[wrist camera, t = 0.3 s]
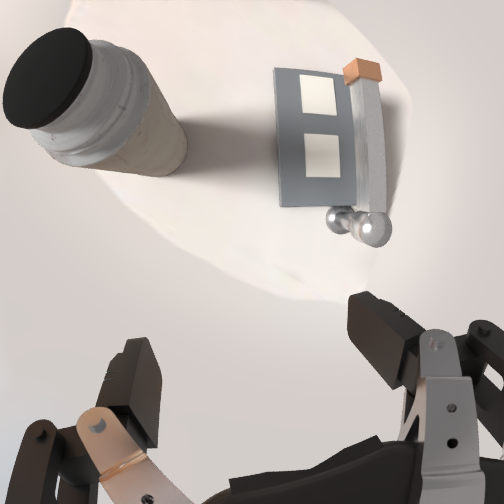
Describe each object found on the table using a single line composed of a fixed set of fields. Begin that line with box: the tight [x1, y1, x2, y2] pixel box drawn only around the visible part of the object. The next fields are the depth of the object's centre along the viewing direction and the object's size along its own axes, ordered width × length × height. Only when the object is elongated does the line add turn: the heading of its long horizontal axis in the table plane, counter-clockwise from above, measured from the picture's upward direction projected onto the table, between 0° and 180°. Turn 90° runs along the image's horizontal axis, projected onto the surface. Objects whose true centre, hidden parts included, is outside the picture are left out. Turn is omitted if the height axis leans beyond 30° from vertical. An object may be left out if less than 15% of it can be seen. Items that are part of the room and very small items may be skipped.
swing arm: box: [343, 58, 392, 248], centre depth 28 cm, size 22×4×4 cm, turn 2°
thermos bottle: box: [3, 28, 187, 177], centre depth 20 cm, size 8×8×28 cm
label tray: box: [273, 68, 357, 207], centre depth 35 cm, size 20×12×2 cm, turn 2°
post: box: [326, 206, 354, 234], centre depth 36 cm, size 4×4×7 cm
